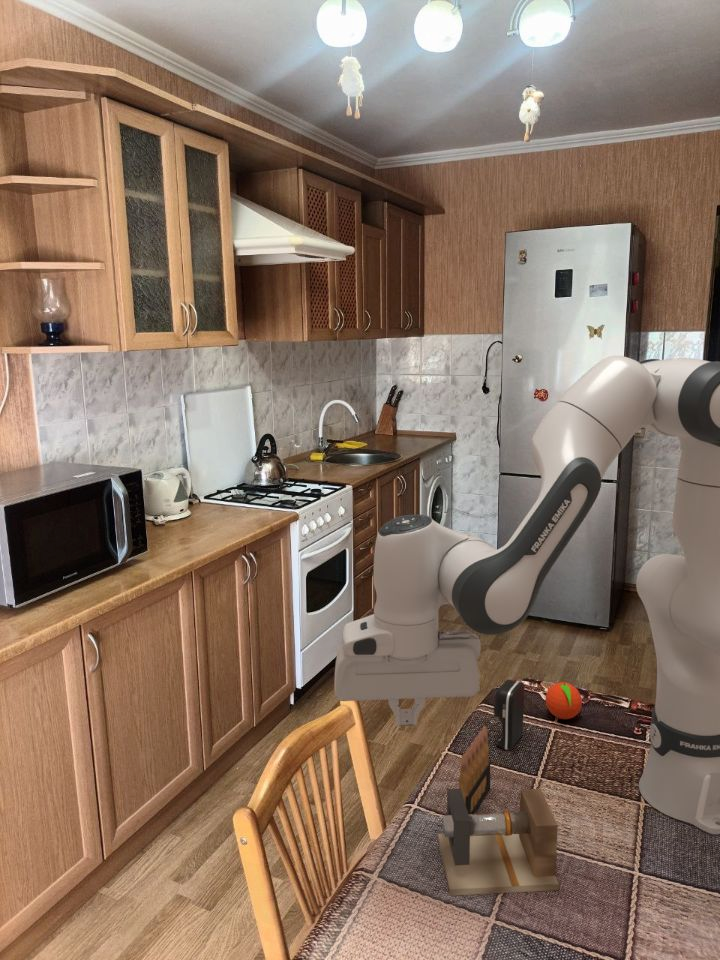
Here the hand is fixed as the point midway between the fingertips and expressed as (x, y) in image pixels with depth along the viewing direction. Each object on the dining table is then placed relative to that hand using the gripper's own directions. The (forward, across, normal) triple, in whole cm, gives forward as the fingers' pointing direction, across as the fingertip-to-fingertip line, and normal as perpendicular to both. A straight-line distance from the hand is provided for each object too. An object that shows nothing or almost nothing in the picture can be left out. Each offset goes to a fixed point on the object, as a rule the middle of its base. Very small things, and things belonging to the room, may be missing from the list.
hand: (406, 723), depth 102 cm
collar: (+18, -7, +3) cm, 20 cm away
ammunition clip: (+21, -12, -10) cm, 26 cm away
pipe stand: (+21, -12, +3) cm, 25 cm away
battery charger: (+21, -22, -28) cm, 41 cm away
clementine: (+21, -35, -35) cm, 54 cm away
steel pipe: (+16, -12, +3) cm, 20 cm away
